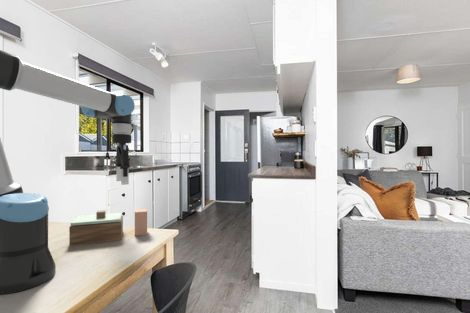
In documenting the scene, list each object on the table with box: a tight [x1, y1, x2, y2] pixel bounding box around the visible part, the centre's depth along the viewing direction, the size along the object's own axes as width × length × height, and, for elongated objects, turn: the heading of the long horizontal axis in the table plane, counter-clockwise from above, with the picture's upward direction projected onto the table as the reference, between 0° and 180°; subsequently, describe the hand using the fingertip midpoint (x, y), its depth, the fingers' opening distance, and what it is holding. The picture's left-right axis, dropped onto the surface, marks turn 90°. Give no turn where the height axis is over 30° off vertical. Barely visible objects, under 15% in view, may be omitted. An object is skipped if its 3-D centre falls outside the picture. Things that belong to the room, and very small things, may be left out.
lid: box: [70, 209, 123, 226], centre depth 105 cm, size 11×17×4 cm, turn 111°
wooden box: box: [68, 214, 124, 246], centre depth 105 cm, size 12×18×7 cm, turn 111°
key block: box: [134, 208, 148, 237], centre depth 111 cm, size 5×5×10 cm
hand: (122, 182), depth 111 cm, fingers open, 13 cm apart
